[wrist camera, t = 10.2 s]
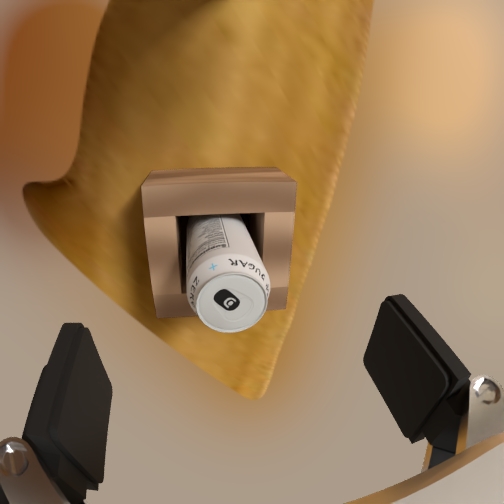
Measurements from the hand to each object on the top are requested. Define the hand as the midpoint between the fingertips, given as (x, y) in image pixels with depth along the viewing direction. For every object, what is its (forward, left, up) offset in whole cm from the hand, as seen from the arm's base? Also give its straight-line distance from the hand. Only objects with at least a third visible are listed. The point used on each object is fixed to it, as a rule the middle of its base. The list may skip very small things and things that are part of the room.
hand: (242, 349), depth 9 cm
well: (+6, +1, -25) cm, 26 cm away
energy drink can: (+5, +1, -25) cm, 26 cm away
